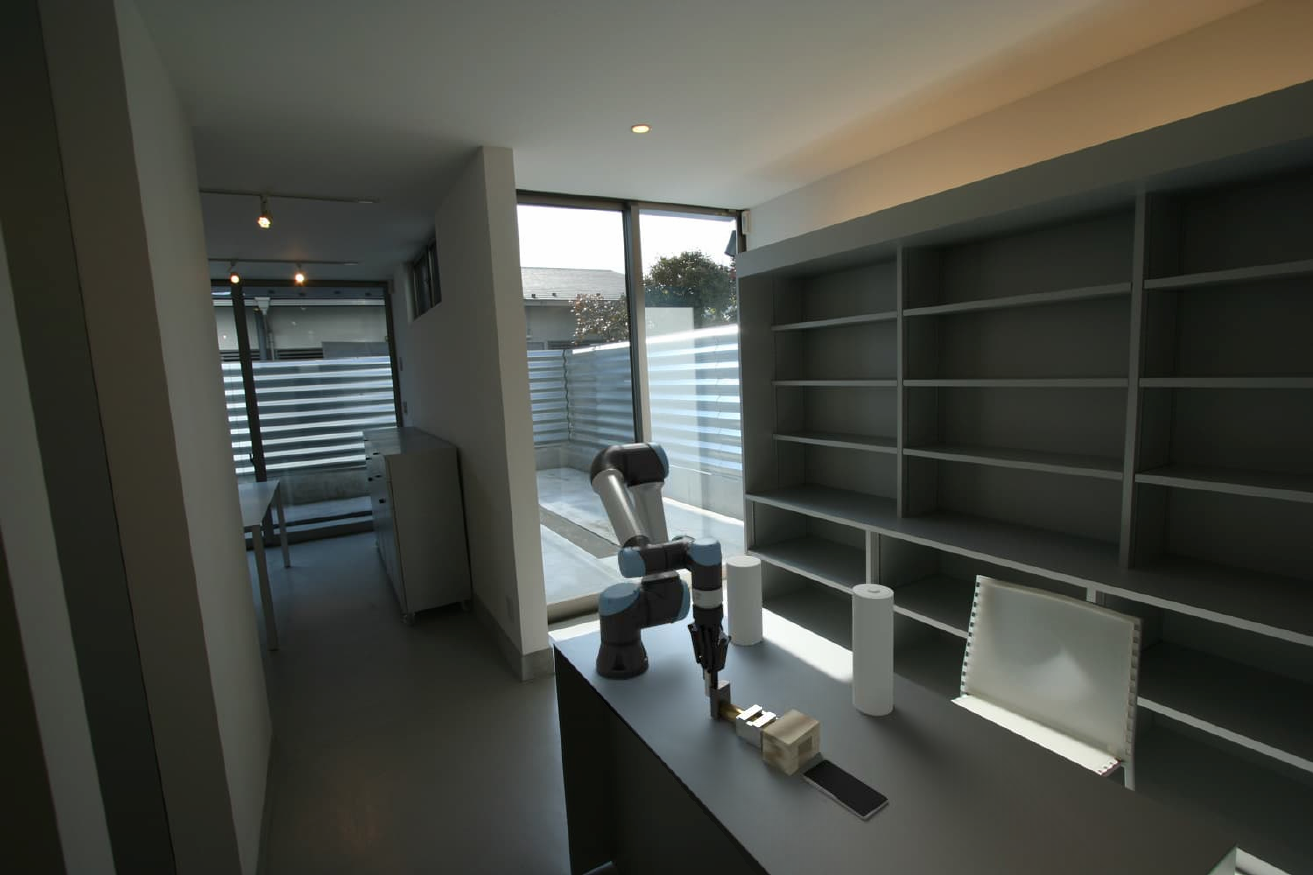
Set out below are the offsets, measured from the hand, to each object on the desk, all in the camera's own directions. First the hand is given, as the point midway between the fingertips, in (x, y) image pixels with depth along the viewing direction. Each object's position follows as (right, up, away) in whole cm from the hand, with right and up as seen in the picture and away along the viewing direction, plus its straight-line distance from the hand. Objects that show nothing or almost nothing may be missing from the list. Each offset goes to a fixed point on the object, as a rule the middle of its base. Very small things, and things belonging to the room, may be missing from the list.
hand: (711, 693), depth 147 cm
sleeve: (+10, -6, -10) cm, 15 cm away
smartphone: (+24, -8, -28) cm, 38 cm away
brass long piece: (+7, -5, -7) cm, 12 cm away
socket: (+16, -6, -17) cm, 24 cm away
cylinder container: (+40, -3, +1) cm, 40 cm away
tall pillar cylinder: (+14, +1, +39) cm, 41 cm away
